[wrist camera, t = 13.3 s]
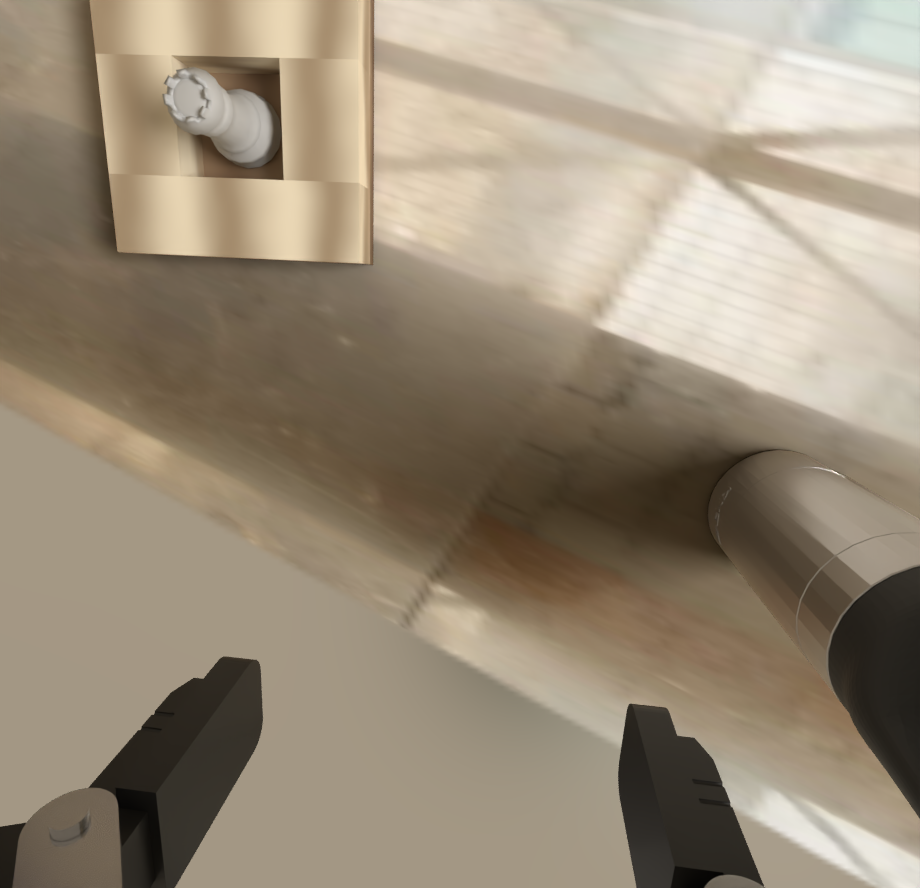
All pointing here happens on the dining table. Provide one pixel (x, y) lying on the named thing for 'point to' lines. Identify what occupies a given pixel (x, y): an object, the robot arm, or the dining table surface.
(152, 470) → the dining table surface
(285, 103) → the socket block
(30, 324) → the dining table surface
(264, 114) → the rook chess piece
